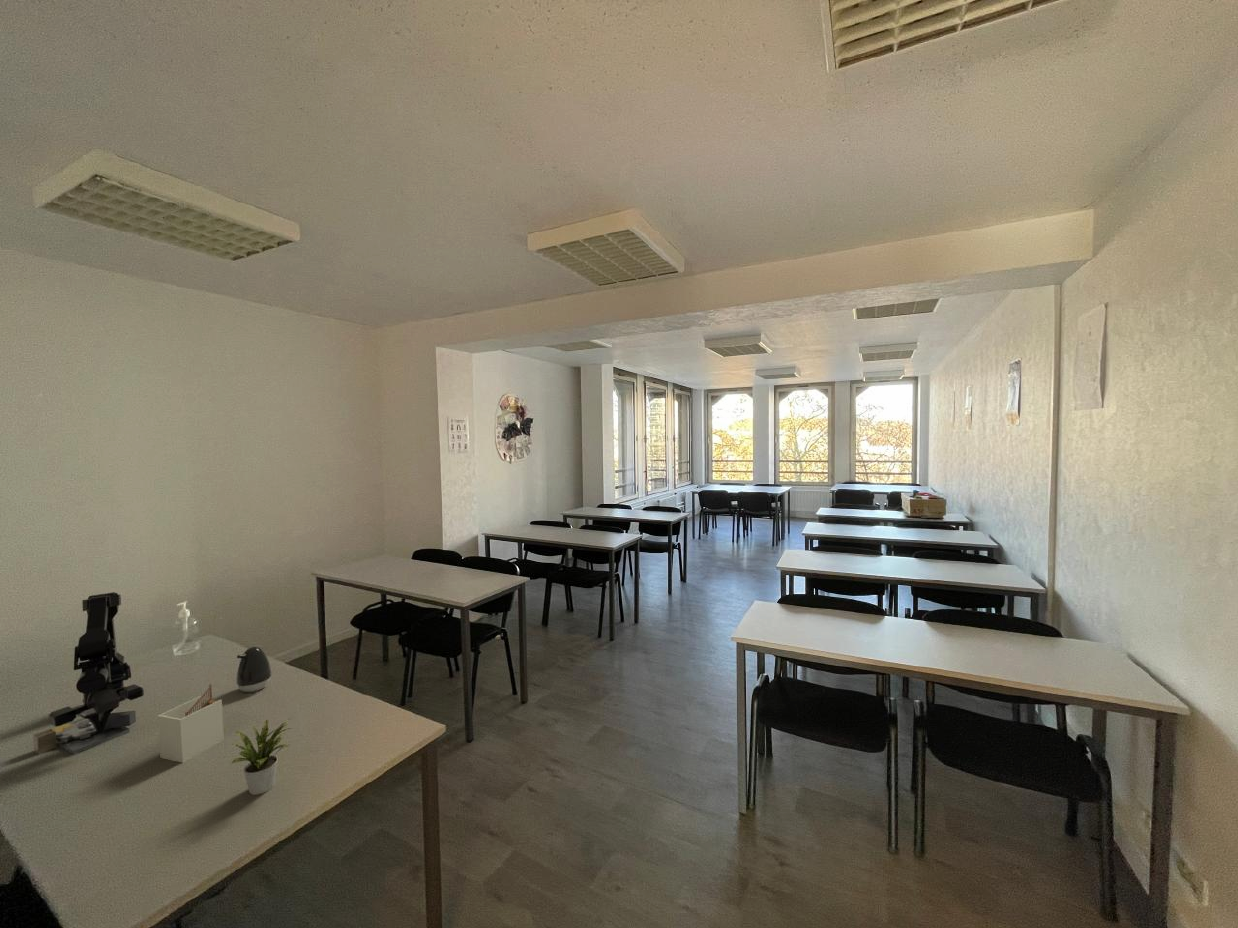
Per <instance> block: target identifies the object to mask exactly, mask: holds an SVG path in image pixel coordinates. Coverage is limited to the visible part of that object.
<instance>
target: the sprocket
mask: <svg viewBox="0 0 1238 928" xmlns="http://www.w3.org/2000/svg"><path fill="white" fill-rule="evenodd" d="M136 722H137V715H136V710H126V711H120V712H119V711H118V712H111V713H110V715H109V717H108V720H107V722H106V725H105V727H104V730H103V731H105V730H107V729H108V728H115V727H123V726H125V727H130V726H132V725H133V724H135V723H136ZM67 724H68V723H67ZM62 730H63V731H60V732H57V733H56V740H58V739H60V742H68V741H70V740H73V739H78V738H80V740H81V739H84V738H88V737H90V736H91V735H92V734H95V733H97V730H96V729H95V728H94V726H93V725H92V723H91V722H90V721H89V719H88V718H87V719H83V720H82V721H79V722H76V723H74V724H68V725H66V726H64V727H62Z"/></svg>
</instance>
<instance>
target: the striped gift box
mask: <svg viewBox="0 0 1238 928" xmlns="http://www.w3.org/2000/svg"><path fill="white" fill-rule="evenodd" d="M53 729H54V728H48V729H45V730H42V731H40V732H37V733H34V734H33V735H32V741H33V752H34V753H35V754H37V755H39V756H40V755H42V754H45V753H47V752H50V751H52V750H55V749H57V747H58V746H57V745H58V744H56V731H54V730H53Z"/></svg>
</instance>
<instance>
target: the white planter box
mask: <svg viewBox="0 0 1238 928" xmlns="http://www.w3.org/2000/svg"><path fill="white" fill-rule="evenodd" d="M212 693H213V692H212V684H209V687H208V689H207V690H206V691H205V692H204V693H203V694H202V695H200V696H197V697H195V698H193V699H191V700H188V701H186V702H184V703H181V704H179V705H178V706H176V707H173V708H171V709H170V710H167V711H165V712H163V713H160V714H159V715H157V722H158V723H157V724H158V737H159V738H158V739H159V742H158V743H159V755H160V759H165V760H169V761H174V762H178V763H185V762H187V761H189V760H190V759H192V758H194V757H196V756H198V755H199V754H201V753H203V752H205V751H206V750H208V749H210V748H212V747H214V746H215V745H218V743H221V742H222V741H225V735H224V733H225V732H224V718H223V714H224V713H223V700H222V699H218V700H213V695H212ZM203 698H208V699H204V700H202V699H203Z"/></svg>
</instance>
